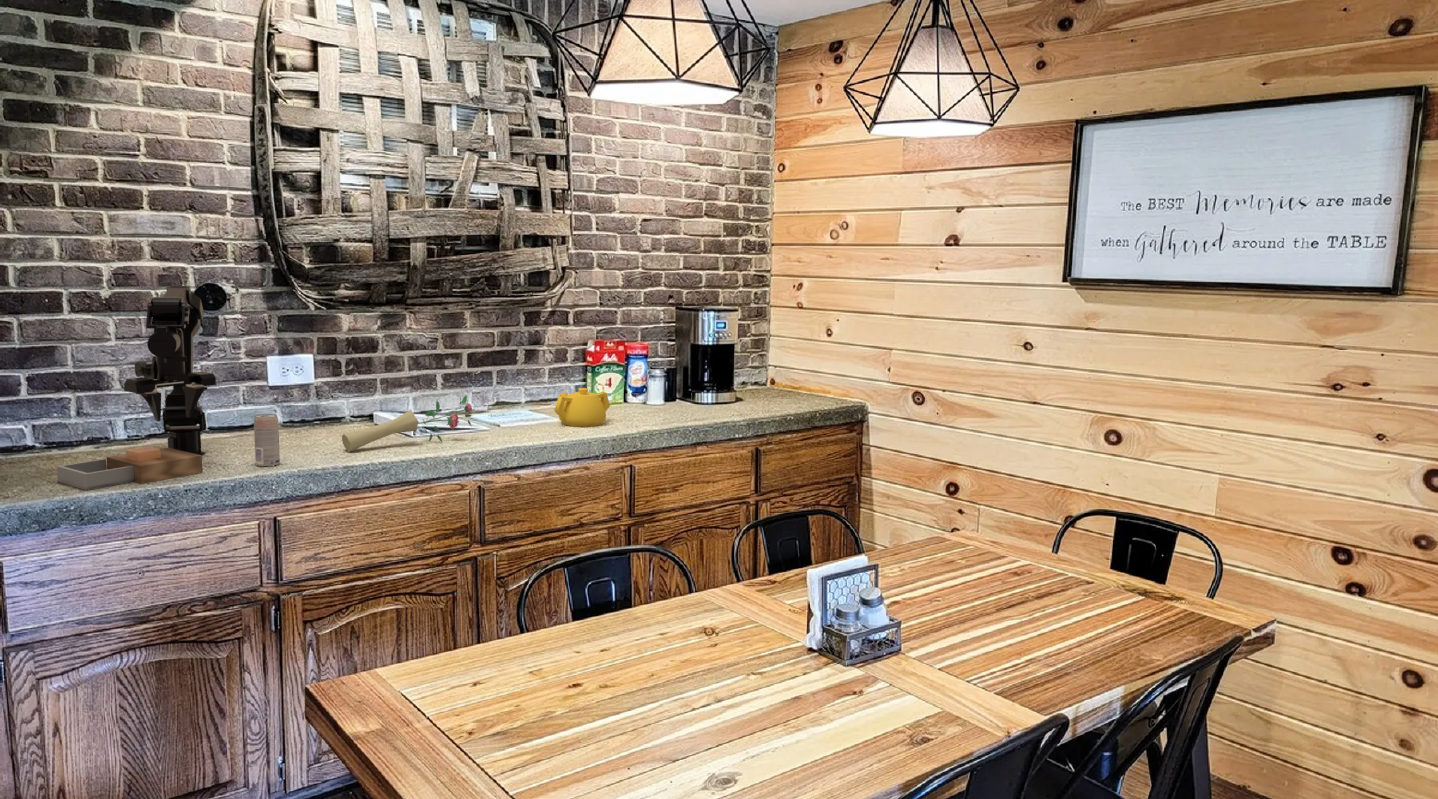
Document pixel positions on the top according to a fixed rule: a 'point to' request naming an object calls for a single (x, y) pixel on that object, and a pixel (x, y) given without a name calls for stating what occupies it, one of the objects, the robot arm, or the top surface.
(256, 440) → the energy drink
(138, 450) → the terracotta tile
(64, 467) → the box
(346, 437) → the flower vase
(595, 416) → the teapot
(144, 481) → the walnut board
